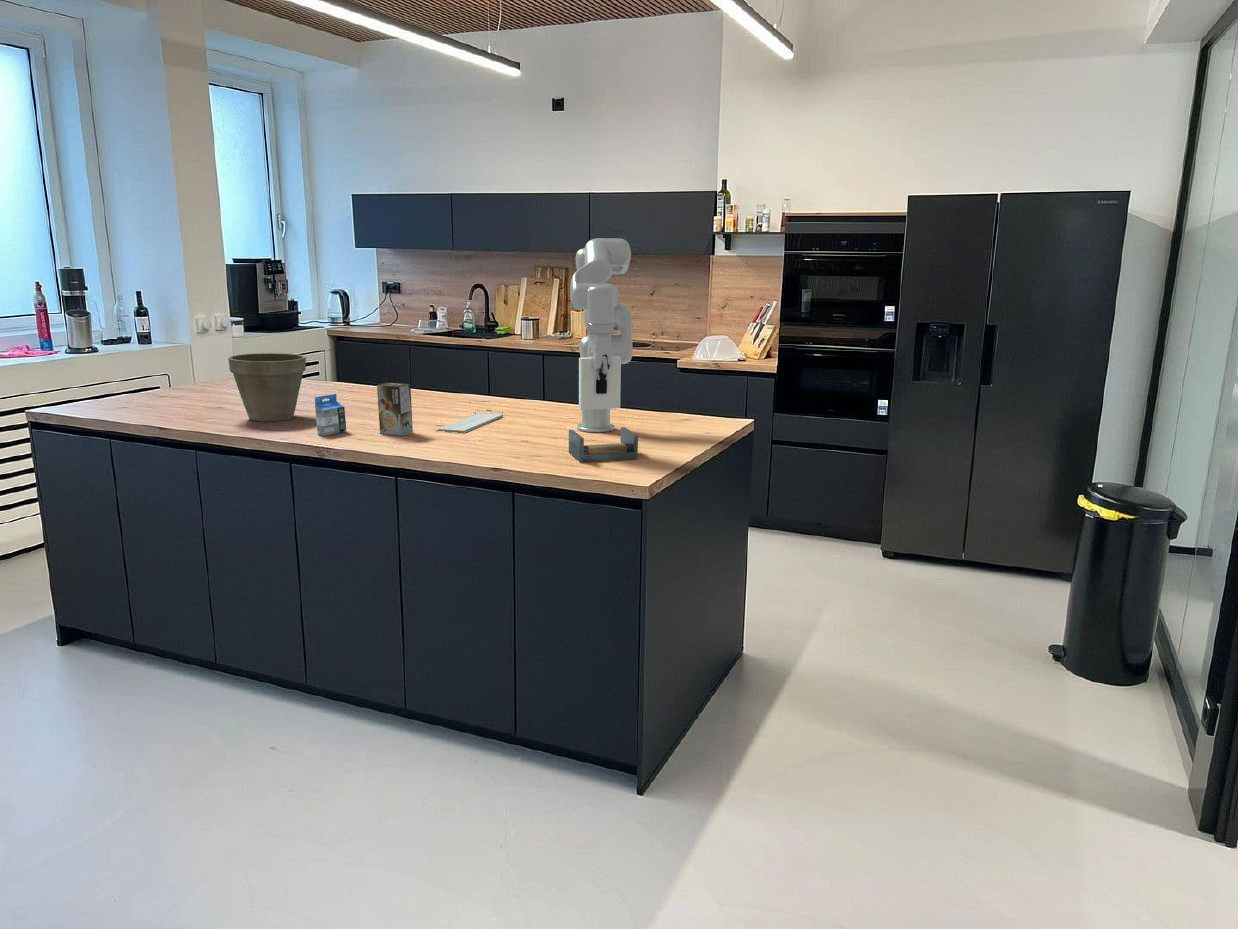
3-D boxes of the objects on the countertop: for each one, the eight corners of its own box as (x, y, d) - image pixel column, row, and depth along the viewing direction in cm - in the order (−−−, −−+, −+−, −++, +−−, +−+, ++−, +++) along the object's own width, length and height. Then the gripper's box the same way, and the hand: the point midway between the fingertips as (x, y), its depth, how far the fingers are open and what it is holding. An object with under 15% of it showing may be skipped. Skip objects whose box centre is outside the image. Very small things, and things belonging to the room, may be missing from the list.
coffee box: (414, 432, 284) (411, 383, 280) (402, 436, 278) (400, 386, 274) (390, 430, 287) (388, 382, 283) (378, 433, 281) (375, 384, 277)
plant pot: (323, 413, 314) (319, 353, 309) (286, 426, 291) (281, 361, 286) (260, 410, 319) (254, 351, 313) (218, 422, 295) (212, 359, 290)
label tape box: (325, 436, 276) (322, 398, 273) (316, 434, 278) (313, 397, 275) (346, 431, 284) (344, 394, 281) (338, 430, 286) (335, 393, 283)
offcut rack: (568, 452, 258) (568, 429, 256) (624, 449, 263) (624, 427, 262) (579, 462, 247) (579, 438, 245) (637, 459, 252) (638, 435, 250)
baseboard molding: (431, 432, 287) (463, 435, 284) (430, 424, 286) (463, 426, 283) (473, 416, 316) (503, 418, 313) (472, 408, 315) (503, 410, 312)
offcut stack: (580, 458, 253) (580, 445, 252) (622, 456, 257) (623, 442, 256) (584, 462, 249) (584, 448, 248) (627, 459, 253) (627, 446, 252)
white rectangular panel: (578, 408, 255) (579, 357, 251) (617, 406, 258) (618, 356, 254) (581, 410, 253) (581, 358, 249) (620, 408, 256) (621, 357, 252)
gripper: (580, 326, 256) (580, 388, 261) (595, 332, 241) (595, 398, 246) (604, 326, 258) (604, 387, 263) (621, 332, 243) (620, 397, 248)
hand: (599, 392), depth 254 cm, fingers closed on white rectangular panel, 2 cm apart
